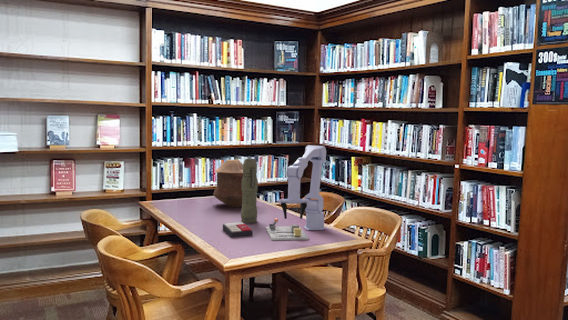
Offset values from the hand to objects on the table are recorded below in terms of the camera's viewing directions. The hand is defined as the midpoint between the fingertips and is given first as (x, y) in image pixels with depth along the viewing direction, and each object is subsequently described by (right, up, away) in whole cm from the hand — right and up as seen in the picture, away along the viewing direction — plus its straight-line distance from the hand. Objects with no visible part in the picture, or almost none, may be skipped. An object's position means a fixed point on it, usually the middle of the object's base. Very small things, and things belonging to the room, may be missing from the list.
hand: (293, 218), depth 223 cm
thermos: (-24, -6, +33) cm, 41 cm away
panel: (-3, -9, +9) cm, 13 cm away
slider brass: (+2, -8, +1) cm, 9 cm away
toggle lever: (-10, -6, +14) cm, 19 cm away
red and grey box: (-28, -9, +8) cm, 31 cm away
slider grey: (+1, -8, +8) cm, 11 cm away
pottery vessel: (-38, -2, +75) cm, 84 cm away
